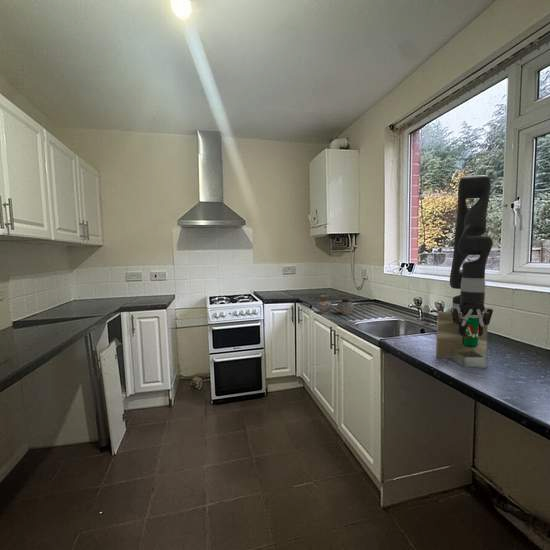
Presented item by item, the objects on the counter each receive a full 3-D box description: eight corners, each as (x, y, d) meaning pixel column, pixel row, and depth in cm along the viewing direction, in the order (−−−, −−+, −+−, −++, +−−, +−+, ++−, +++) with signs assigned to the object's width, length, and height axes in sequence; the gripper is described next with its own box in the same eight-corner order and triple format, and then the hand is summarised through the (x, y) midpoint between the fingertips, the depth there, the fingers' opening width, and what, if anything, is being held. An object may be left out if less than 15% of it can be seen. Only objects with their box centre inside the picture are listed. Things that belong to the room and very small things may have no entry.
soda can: (472, 343, 115) (474, 312, 115) (481, 348, 110) (482, 315, 110) (459, 343, 116) (460, 312, 115) (467, 347, 111) (468, 315, 110)
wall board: (435, 355, 122) (437, 311, 120) (483, 357, 120) (486, 312, 118) (437, 357, 120) (439, 312, 119) (485, 358, 118) (488, 313, 117)
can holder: (450, 357, 120) (450, 348, 119) (472, 358, 119) (472, 349, 118) (462, 366, 110) (463, 357, 110) (487, 367, 109) (487, 358, 109)
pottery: (317, 311, 213) (317, 294, 212) (354, 312, 208) (354, 295, 207) (316, 314, 202) (316, 296, 201) (355, 316, 197) (355, 298, 196)
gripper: (487, 289, 115) (485, 333, 116) (447, 288, 116) (445, 332, 117) (499, 291, 107) (497, 339, 108) (456, 291, 109) (454, 337, 110)
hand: (470, 335), depth 113 cm, fingers closed on soda can, 5 cm apart
